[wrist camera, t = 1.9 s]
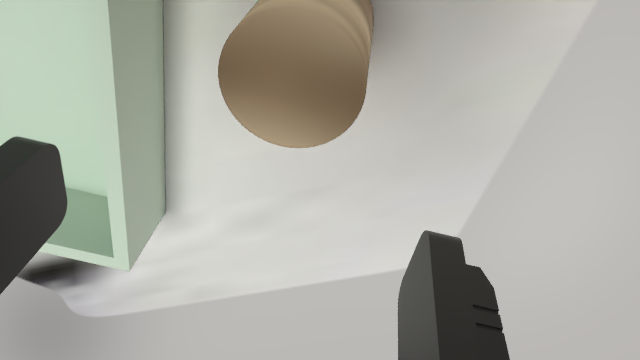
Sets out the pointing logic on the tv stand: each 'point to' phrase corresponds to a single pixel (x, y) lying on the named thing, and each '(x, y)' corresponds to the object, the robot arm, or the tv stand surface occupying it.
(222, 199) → the tv stand surface
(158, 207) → the tote
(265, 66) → the beech cylinder
